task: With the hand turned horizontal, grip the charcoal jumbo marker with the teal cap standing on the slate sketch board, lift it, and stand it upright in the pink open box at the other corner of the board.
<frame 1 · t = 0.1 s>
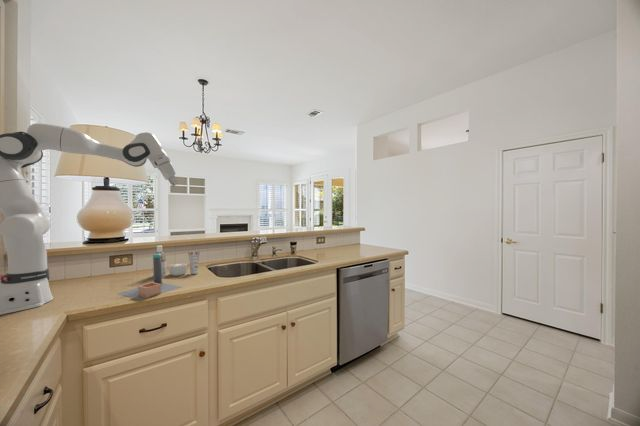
hand: (175, 185, 140), 54 cm above the table, fingers open, 8 cm apart
sketch board: (150, 291, 123), on the table
cosmetic set: (177, 275, 153), on the table
marker: (157, 284, 132), point 1 cm above the table, touching sketch board
pink open box: (149, 294, 117), resting on sketch board
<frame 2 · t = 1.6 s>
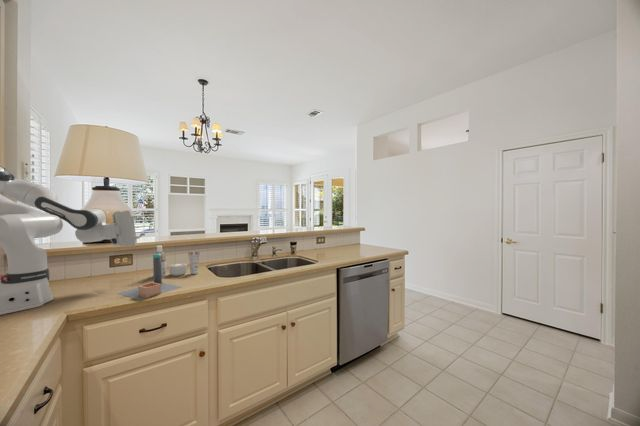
hand: (143, 226, 143), 31 cm above the table, fingers open, 8 cm apart
nothing on the table moved.
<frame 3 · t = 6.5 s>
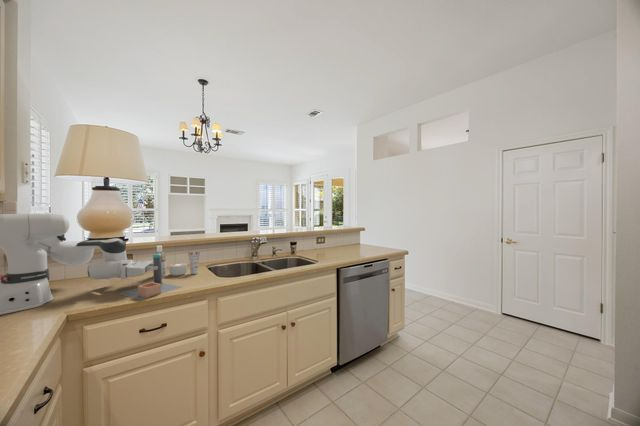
hand: (159, 266, 132), 10 cm above the table, fingers closed on marker, 4 cm apart
marker: (157, 284, 132), point 1 cm above the table, touching gripper, sketch board
everything else where it was.
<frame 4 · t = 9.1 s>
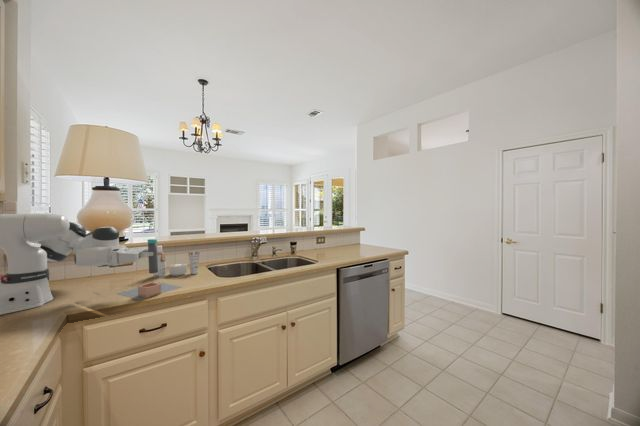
hand: (154, 252, 121), 20 cm above the table, fingers closed on marker, 4 cm apart
marker: (153, 272, 121), point 10 cm above the table, touching gripper
everything else where it was.
when the fingers open (12 cm above the table, at t = 11.6 s): marker drops 1 cm, resting on pink open box.
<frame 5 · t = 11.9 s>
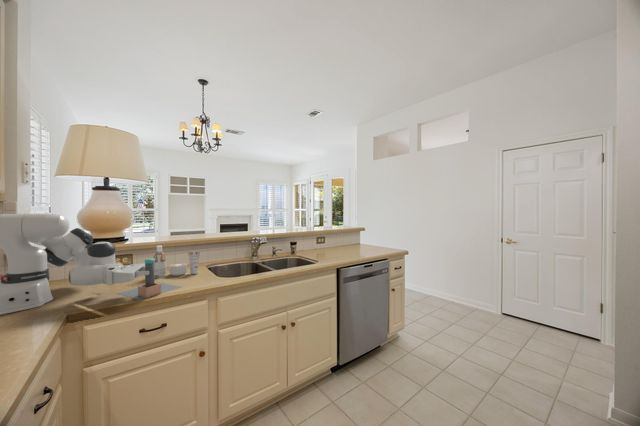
hand: (151, 270, 117), 12 cm above the table, fingers open, 6 cm apart
marker: (149, 293, 117), point 1 cm above the table, touching pink open box
everything else where it was.
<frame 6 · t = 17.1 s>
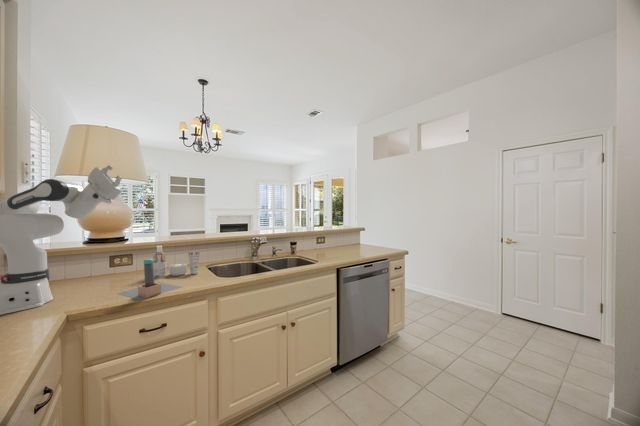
hand: (115, 171, 126), 60 cm above the table, fingers open, 8 cm apart
nothing on the table moved.
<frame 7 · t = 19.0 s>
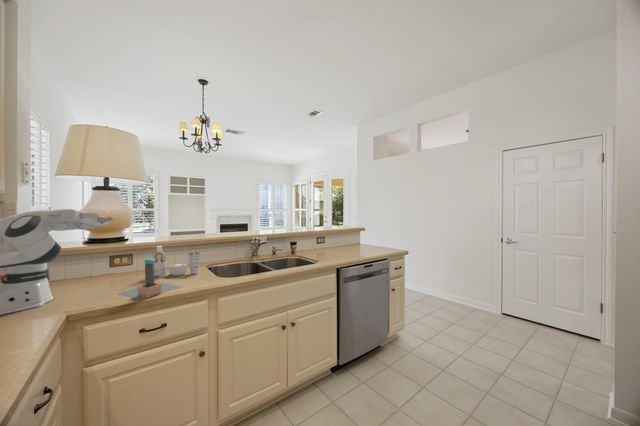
hand: (105, 217, 105), 38 cm above the table, fingers open, 8 cm apart
nothing on the table moved.
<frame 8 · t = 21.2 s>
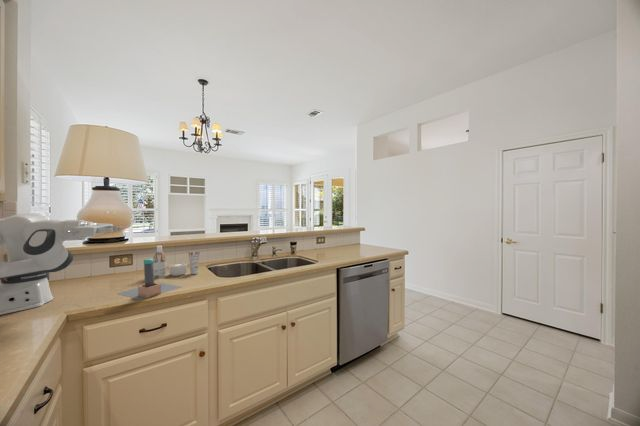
hand: (117, 229, 112), 32 cm above the table, fingers open, 8 cm apart
nothing on the table moved.
at the end: marker 0.1 cm off-centre on the pink open box, point 0.5 cm above the pink open box's base; marker tilted 2°; the gripper is holding nothing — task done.
